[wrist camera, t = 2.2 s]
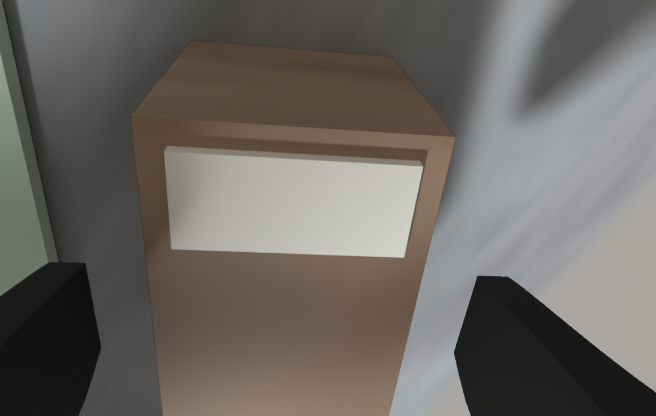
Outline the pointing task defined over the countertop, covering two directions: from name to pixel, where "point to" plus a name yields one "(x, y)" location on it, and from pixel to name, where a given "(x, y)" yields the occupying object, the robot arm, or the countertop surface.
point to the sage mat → (19, 181)
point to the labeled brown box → (285, 227)
